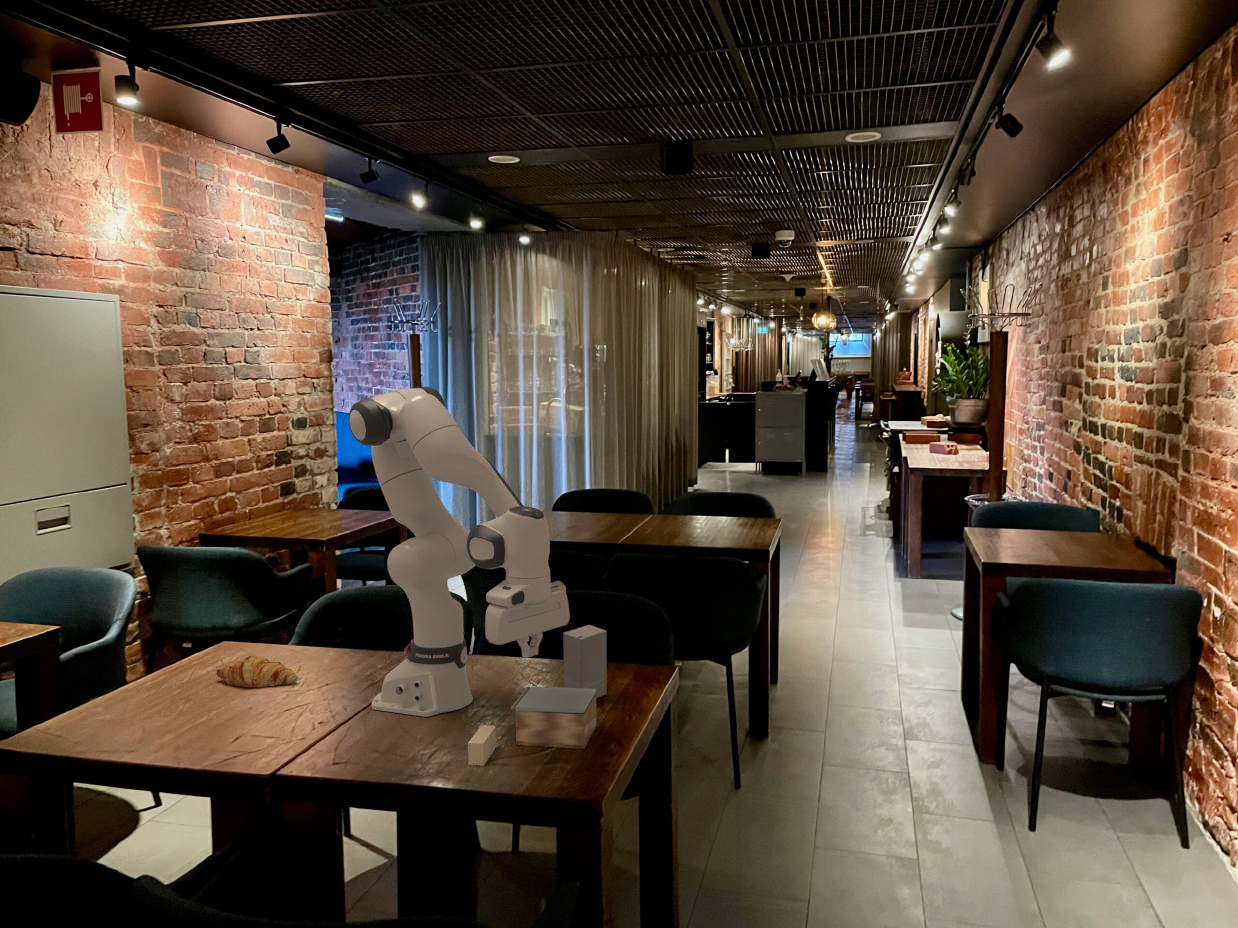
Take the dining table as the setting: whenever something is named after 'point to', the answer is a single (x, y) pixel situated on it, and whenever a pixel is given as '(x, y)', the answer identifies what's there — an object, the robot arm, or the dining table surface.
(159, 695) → the dining table surface
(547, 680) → the dining table surface
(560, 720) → the crate
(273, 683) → the croissant
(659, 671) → the dining table surface
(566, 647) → the skincare box
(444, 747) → the dining table surface
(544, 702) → the lid
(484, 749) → the tan rectangular block
